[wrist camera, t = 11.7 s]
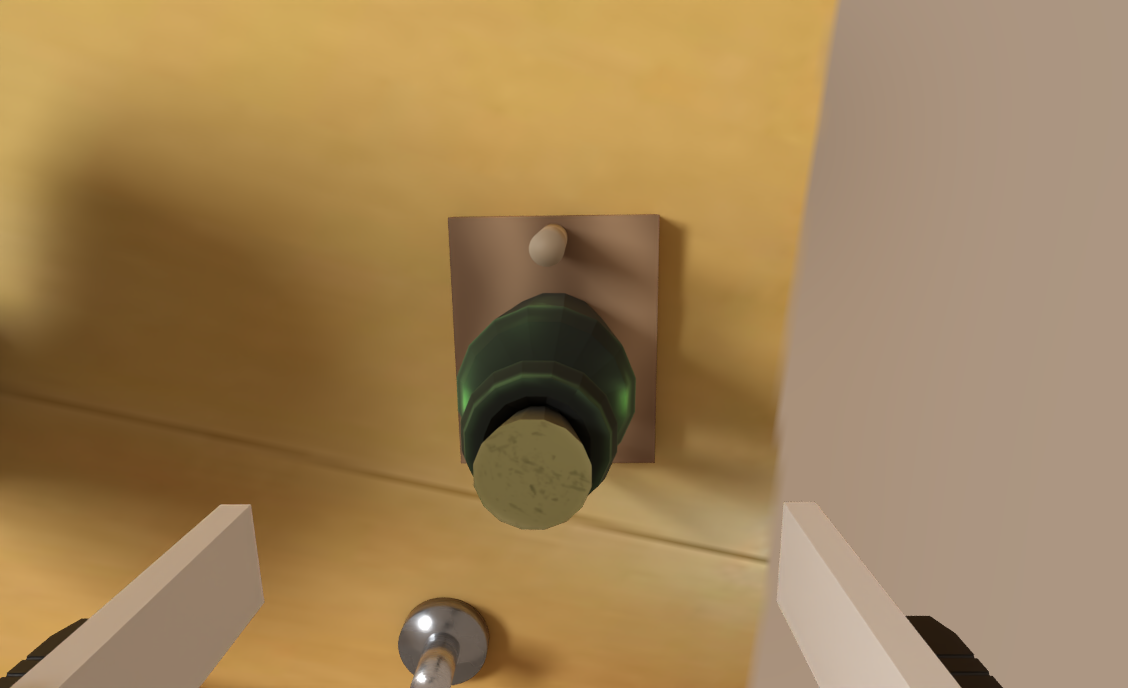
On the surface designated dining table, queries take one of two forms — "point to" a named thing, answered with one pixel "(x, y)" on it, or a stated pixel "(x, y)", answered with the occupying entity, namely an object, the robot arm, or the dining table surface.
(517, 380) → the potion bottle
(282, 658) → the dining table surface
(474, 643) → the ring nut stud
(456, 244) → the rack
